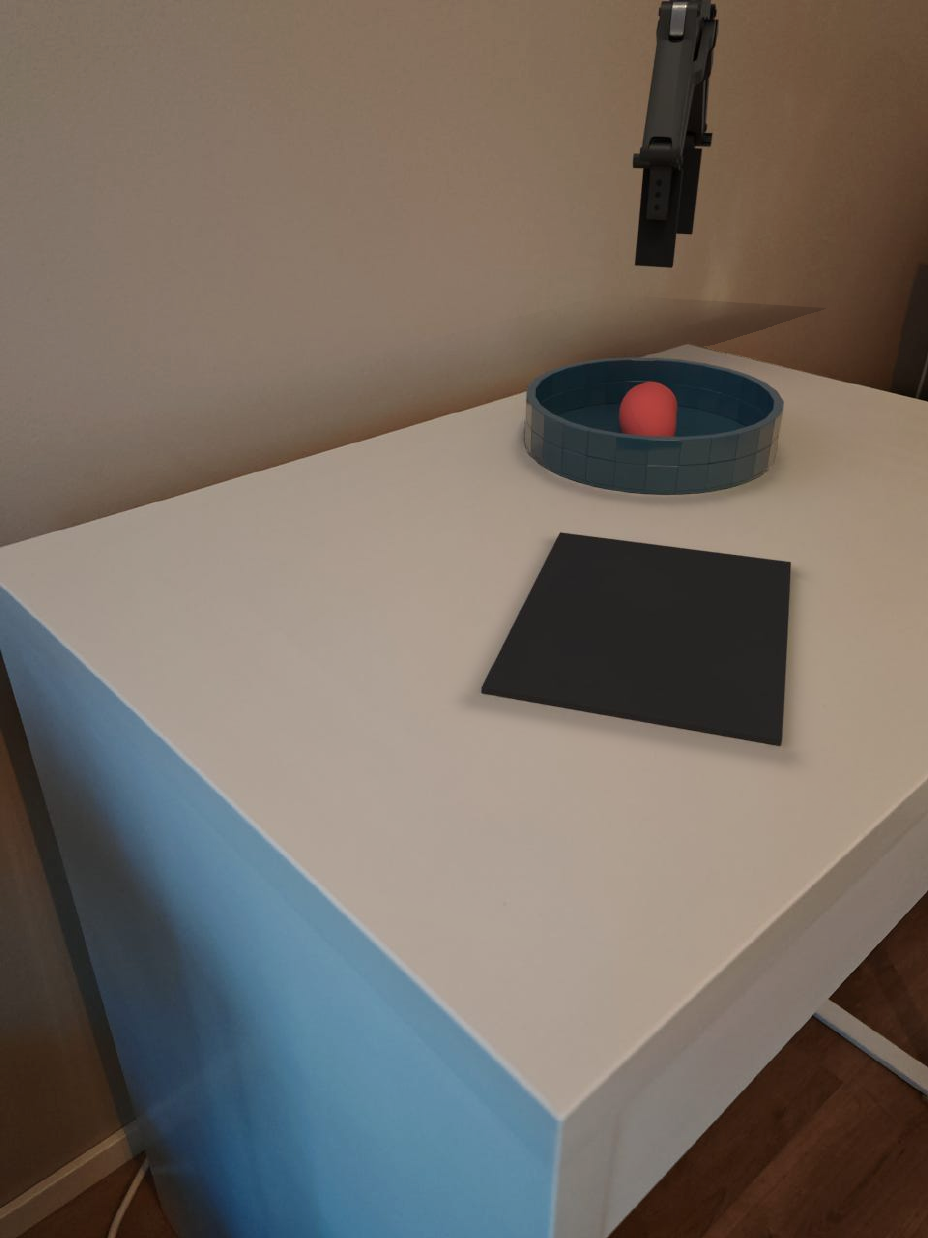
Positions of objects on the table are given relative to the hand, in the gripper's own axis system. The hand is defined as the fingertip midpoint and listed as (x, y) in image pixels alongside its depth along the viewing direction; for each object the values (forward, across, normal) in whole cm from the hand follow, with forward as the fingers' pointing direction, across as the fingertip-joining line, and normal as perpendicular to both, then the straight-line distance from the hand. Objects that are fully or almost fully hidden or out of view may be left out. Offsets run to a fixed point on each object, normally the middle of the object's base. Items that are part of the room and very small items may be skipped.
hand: (665, 248), depth 77 cm
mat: (+16, +30, +5) cm, 34 cm away
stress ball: (+16, 0, 0) cm, 16 cm away
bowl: (+16, 0, 0) cm, 16 cm away
